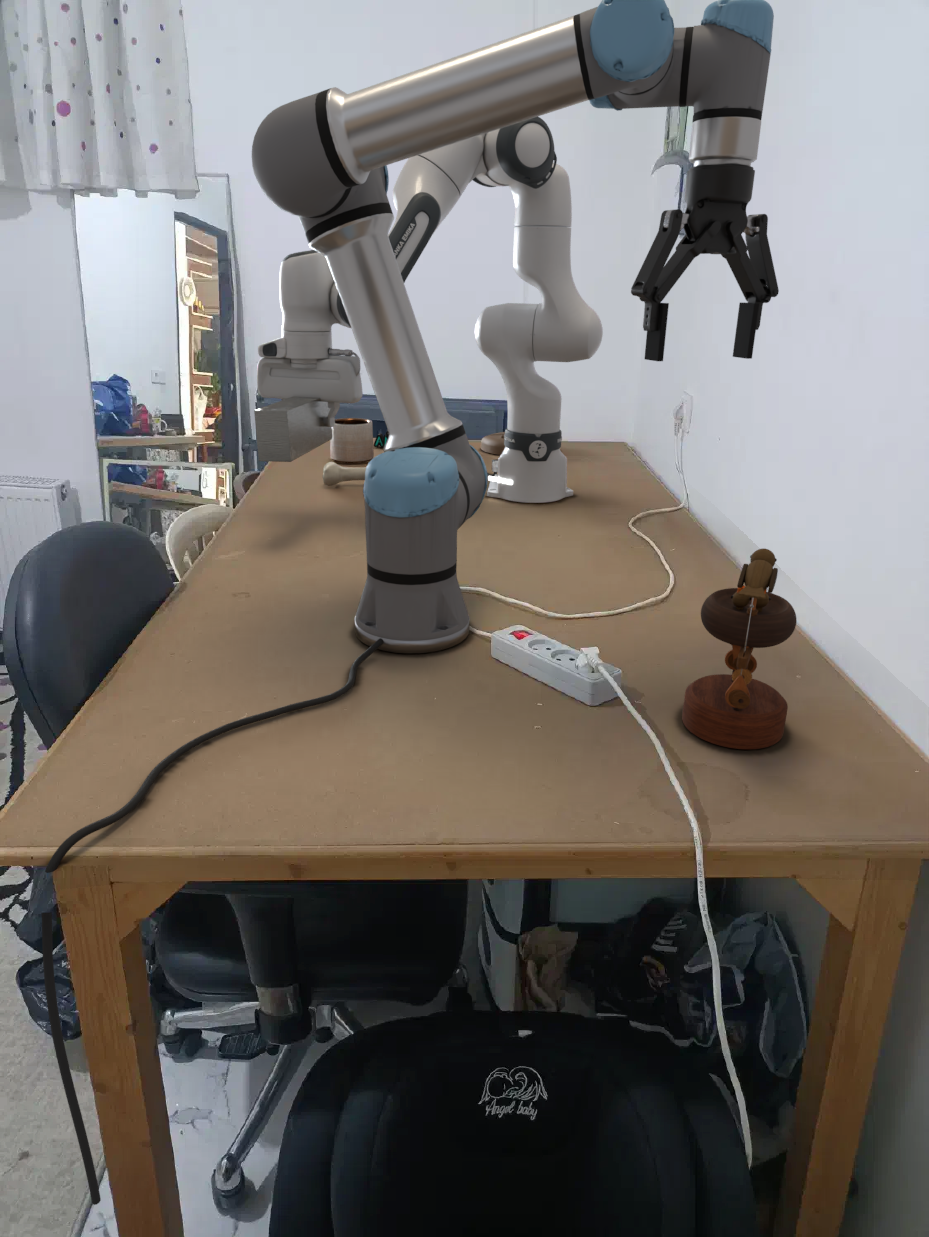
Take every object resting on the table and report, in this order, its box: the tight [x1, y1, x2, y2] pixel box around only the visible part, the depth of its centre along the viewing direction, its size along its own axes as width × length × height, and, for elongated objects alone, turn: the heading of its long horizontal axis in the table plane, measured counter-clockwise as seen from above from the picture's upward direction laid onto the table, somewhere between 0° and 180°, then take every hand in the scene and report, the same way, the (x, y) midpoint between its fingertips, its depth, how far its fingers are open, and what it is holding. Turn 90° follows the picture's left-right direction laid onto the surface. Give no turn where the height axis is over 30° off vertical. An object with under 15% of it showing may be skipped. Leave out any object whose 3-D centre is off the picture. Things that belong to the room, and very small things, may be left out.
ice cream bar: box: [480, 431, 505, 456], centre depth 223 cm, size 21×28×4 cm
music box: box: [681, 548, 797, 750], centre depth 88 cm, size 15×11×20 cm
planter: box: [329, 417, 375, 464], centre depth 212 cm, size 11×11×10 cm
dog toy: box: [322, 461, 366, 486], centre depth 189 cm, size 20×6×5 cm, turn 99°
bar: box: [253, 397, 332, 463], centre depth 150 cm, size 24×6×8 cm, turn 171°
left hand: (698, 359), depth 105 cm, fingers open, 13 cm apart
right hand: (311, 425), depth 158 cm, fingers closed on bar, 6 cm apart
